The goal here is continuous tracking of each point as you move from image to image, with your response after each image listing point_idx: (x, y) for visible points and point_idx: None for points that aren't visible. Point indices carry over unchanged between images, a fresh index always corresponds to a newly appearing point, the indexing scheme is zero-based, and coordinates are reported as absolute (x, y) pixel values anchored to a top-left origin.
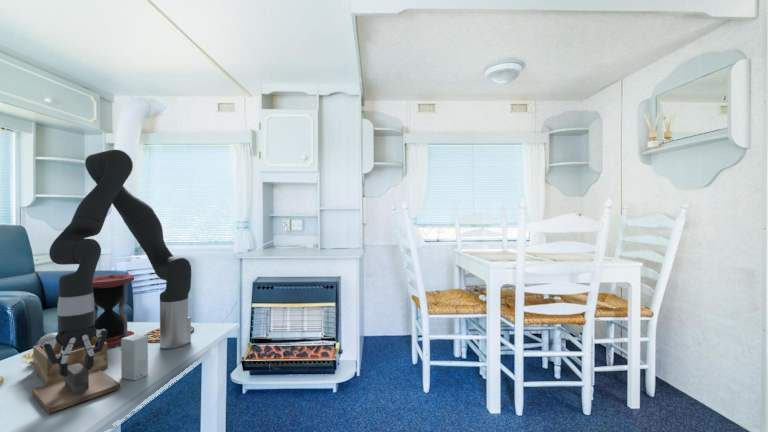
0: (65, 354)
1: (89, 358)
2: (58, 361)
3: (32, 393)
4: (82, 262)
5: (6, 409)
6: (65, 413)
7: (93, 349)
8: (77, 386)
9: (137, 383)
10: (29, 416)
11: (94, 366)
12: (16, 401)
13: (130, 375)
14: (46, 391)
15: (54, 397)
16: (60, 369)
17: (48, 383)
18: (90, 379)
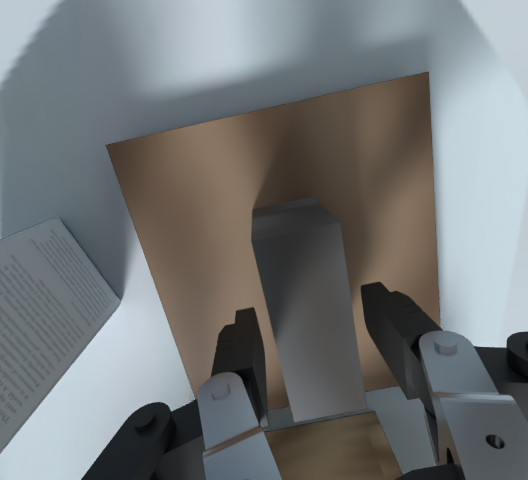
0: (487, 394)
1: (239, 359)
2: (488, 361)
3: None
4: None
5: (508, 289)
6: (350, 46)
7: (198, 449)
8: (304, 204)
9: (44, 172)
10: (464, 144)
11: None
12: (472, 341)
13: (65, 249)
14: None
15: (388, 211)
16: (425, 314)
17: (374, 420)
18: None
